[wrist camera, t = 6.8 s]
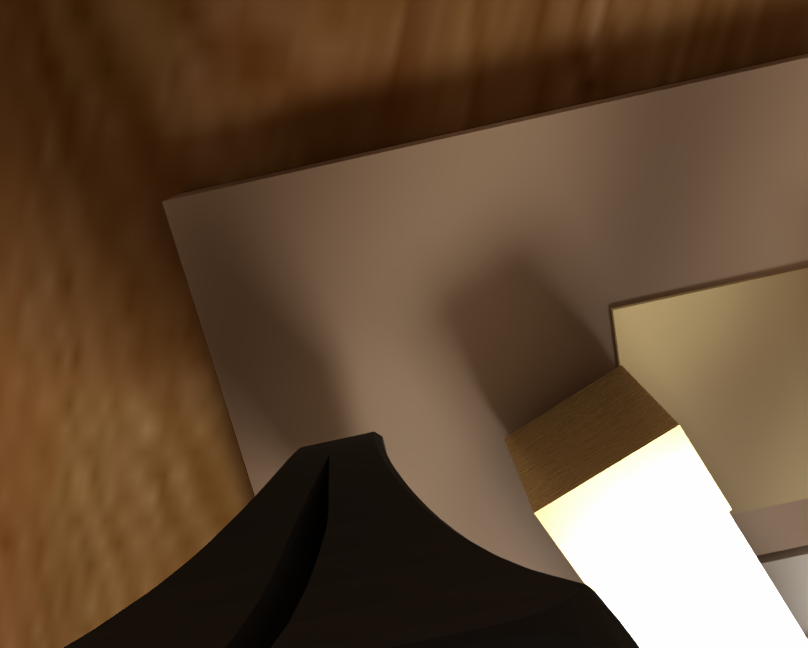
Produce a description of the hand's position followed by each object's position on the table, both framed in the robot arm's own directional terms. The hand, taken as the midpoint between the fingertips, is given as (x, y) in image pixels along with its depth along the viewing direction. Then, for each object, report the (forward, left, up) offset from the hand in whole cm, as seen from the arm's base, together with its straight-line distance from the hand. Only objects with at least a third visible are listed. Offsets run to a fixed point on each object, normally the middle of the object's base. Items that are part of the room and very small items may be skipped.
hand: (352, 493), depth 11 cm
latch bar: (-6, +4, -1) cm, 7 cm away
